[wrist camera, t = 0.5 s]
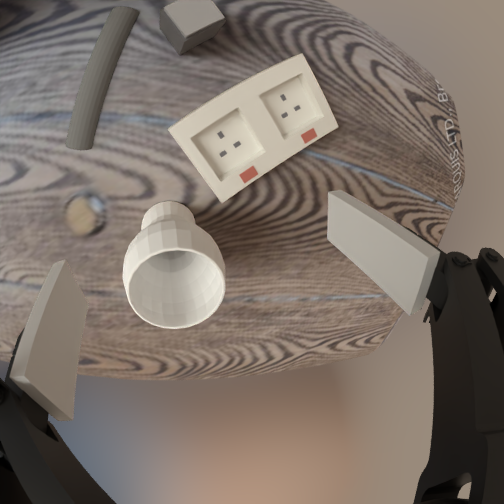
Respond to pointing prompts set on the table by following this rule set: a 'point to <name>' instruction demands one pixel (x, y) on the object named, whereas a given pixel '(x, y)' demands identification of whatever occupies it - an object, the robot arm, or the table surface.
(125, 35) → the gray half cylinder
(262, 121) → the socket plate
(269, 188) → the table surface
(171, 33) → the plug
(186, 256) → the cup
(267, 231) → the table surface
